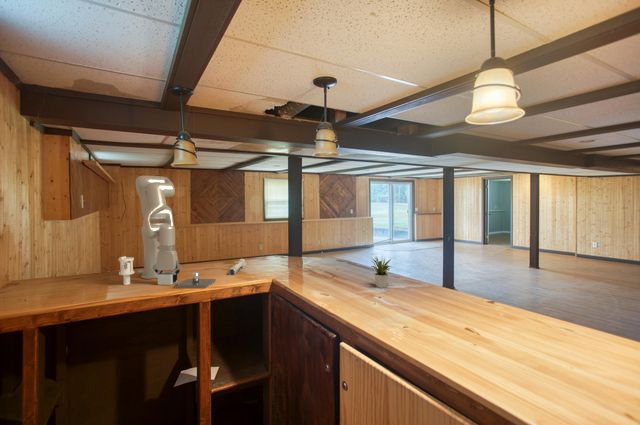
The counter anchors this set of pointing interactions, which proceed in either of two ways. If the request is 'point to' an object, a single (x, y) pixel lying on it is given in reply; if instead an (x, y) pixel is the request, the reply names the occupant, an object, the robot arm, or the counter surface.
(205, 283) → the grey plate with knob
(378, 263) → the house plant
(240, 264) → the white flashlight
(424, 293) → the counter surface
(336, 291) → the counter surface
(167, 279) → the collar
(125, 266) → the white upright piece
